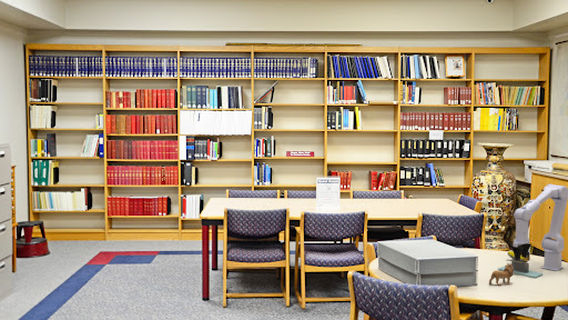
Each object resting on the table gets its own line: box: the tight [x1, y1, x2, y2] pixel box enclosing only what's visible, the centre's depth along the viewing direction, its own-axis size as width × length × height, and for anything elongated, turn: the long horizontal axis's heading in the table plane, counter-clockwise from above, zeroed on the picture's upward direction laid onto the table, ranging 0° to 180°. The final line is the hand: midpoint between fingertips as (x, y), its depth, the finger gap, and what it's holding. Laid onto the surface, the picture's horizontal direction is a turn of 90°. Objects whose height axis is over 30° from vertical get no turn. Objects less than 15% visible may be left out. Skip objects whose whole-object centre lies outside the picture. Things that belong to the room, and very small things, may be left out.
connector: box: [506, 259, 530, 273], centre depth 277 cm, size 4×10×4 cm, turn 43°
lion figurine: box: [488, 263, 514, 287], centre depth 257 cm, size 15×5×9 cm, turn 119°
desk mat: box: [497, 265, 544, 279], centre depth 277 cm, size 9×19×1 cm, turn 43°
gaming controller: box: [507, 250, 532, 262], centre depth 303 cm, size 15×6×10 cm
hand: (520, 258), depth 276 cm, fingers open, 7 cm apart
